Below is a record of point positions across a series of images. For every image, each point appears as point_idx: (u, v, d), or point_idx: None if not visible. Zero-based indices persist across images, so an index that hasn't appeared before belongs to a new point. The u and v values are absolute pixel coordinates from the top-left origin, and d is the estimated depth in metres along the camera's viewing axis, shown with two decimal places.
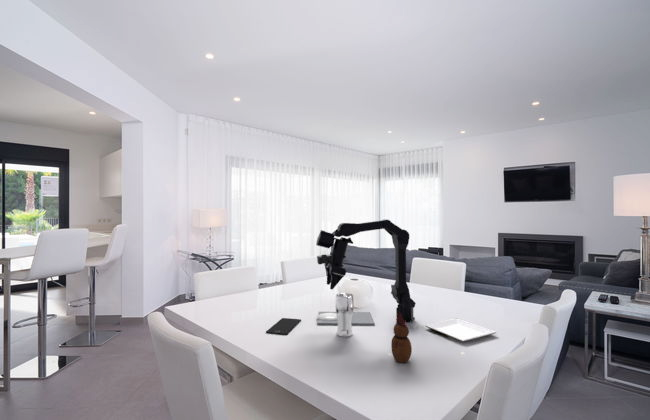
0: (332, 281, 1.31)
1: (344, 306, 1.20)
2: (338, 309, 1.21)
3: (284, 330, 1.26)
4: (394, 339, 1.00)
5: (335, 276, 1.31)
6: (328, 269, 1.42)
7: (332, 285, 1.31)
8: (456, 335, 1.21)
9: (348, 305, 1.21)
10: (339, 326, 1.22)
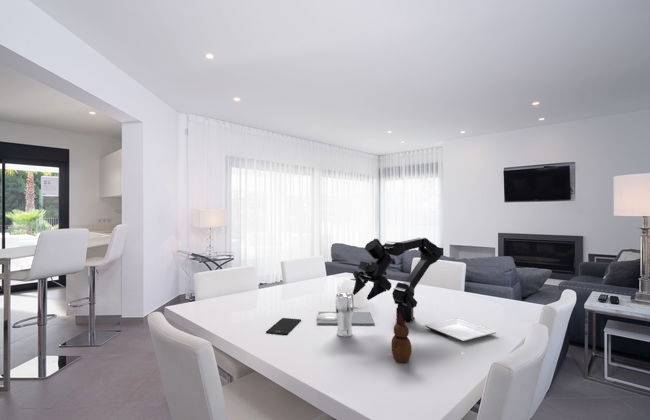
0: (373, 292, 1.25)
1: (344, 306, 1.20)
2: (338, 309, 1.21)
3: (284, 330, 1.26)
4: (394, 339, 1.00)
5: (377, 288, 1.26)
6: (359, 279, 1.35)
7: (370, 295, 1.24)
8: (456, 335, 1.21)
9: (348, 305, 1.21)
10: (339, 326, 1.22)
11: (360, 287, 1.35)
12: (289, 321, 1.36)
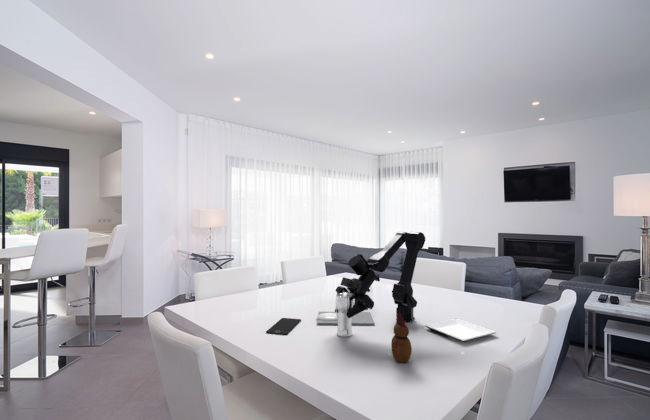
0: (354, 310, 1.20)
1: (344, 306, 1.20)
2: (338, 309, 1.21)
3: (284, 330, 1.26)
4: (394, 339, 1.00)
5: (358, 306, 1.21)
6: None
7: (351, 314, 1.19)
8: (456, 335, 1.21)
9: (348, 305, 1.21)
10: (339, 326, 1.22)
11: None
12: (289, 321, 1.36)
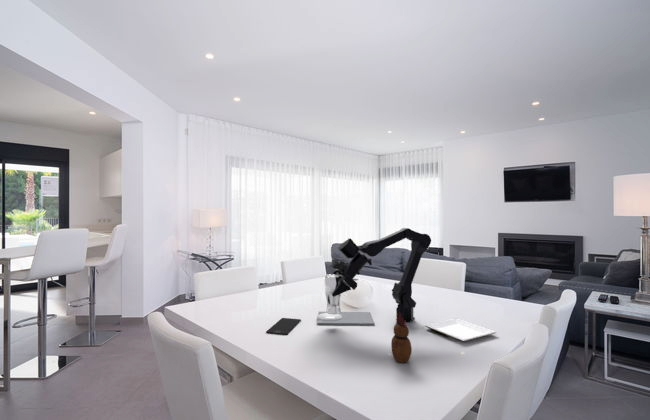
0: (338, 289, 1.29)
1: (330, 285, 1.30)
2: (325, 288, 1.31)
3: (284, 330, 1.26)
4: (394, 339, 1.00)
5: (342, 286, 1.29)
6: None
7: (335, 292, 1.29)
8: (456, 335, 1.21)
9: (333, 285, 1.30)
10: (327, 304, 1.32)
11: None
12: (289, 321, 1.36)
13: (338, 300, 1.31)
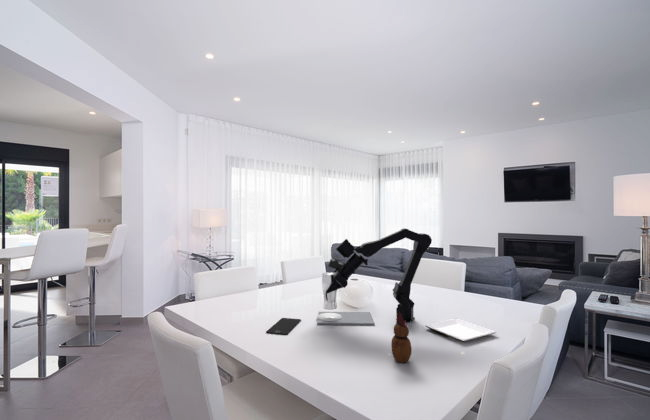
0: (331, 286, 1.37)
1: (325, 282, 1.39)
2: (322, 285, 1.41)
3: (284, 330, 1.26)
4: (394, 339, 1.00)
5: (336, 283, 1.37)
6: None
7: (329, 289, 1.38)
8: (456, 335, 1.21)
9: (328, 282, 1.39)
10: (324, 300, 1.42)
11: None
12: (289, 321, 1.36)
13: (333, 297, 1.40)
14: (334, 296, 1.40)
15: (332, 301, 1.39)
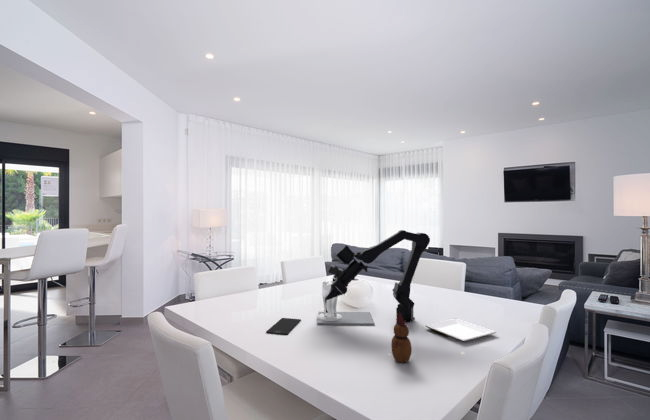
0: (331, 293, 1.36)
1: (325, 291, 1.39)
2: (322, 294, 1.41)
3: (284, 330, 1.26)
4: (394, 339, 1.00)
5: (335, 290, 1.36)
6: None
7: (329, 296, 1.37)
8: (456, 335, 1.21)
9: (328, 291, 1.38)
10: (324, 308, 1.42)
11: None
12: (289, 321, 1.37)
13: (333, 306, 1.39)
14: (334, 305, 1.40)
15: (332, 310, 1.39)
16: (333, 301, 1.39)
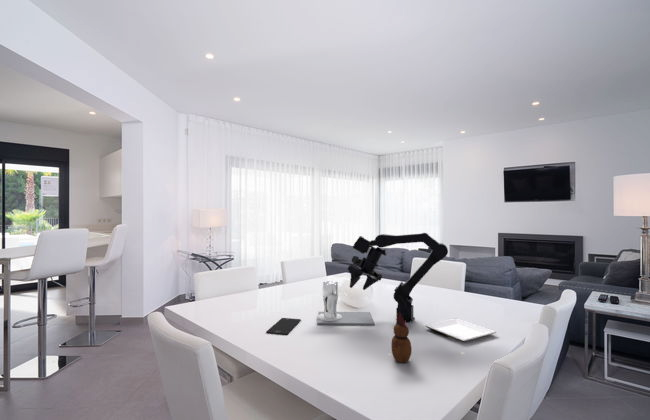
0: (351, 280, 1.45)
1: (325, 291, 1.39)
2: (323, 293, 1.41)
3: (284, 330, 1.26)
4: (394, 339, 1.00)
5: (354, 276, 1.44)
6: (368, 276, 1.52)
7: (351, 283, 1.45)
8: (456, 335, 1.21)
9: (329, 291, 1.39)
10: (324, 308, 1.42)
11: (369, 283, 1.50)
12: (289, 321, 1.37)
13: (333, 306, 1.39)
14: (334, 305, 1.40)
15: (332, 310, 1.39)
16: (333, 301, 1.39)
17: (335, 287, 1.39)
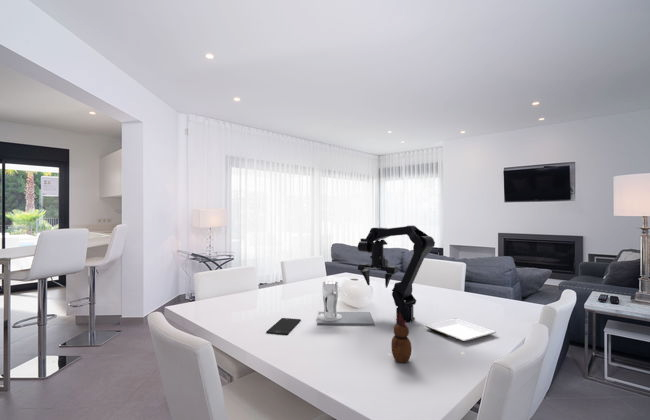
0: None
1: (325, 291, 1.39)
2: (322, 292, 1.41)
3: (284, 330, 1.26)
4: (394, 339, 1.00)
5: None
6: None
7: None
8: (456, 335, 1.21)
9: (328, 291, 1.39)
10: (324, 308, 1.42)
11: None
12: (289, 321, 1.37)
13: (333, 305, 1.40)
14: (334, 305, 1.40)
15: (332, 310, 1.39)
16: (333, 301, 1.39)
17: (335, 287, 1.40)
